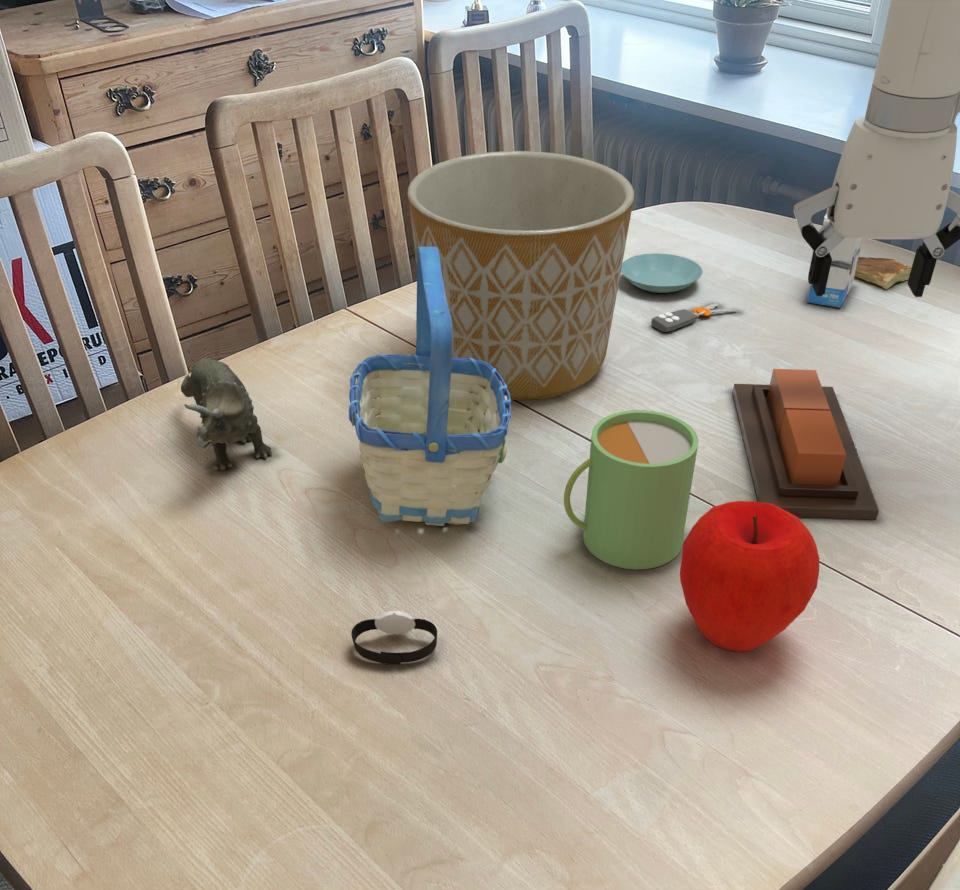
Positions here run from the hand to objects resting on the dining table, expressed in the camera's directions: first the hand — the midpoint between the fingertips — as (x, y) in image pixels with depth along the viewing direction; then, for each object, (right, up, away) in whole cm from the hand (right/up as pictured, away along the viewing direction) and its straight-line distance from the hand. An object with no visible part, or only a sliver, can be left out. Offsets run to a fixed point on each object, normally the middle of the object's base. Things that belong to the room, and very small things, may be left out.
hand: (865, 290), depth 106 cm
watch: (-47, -36, -11) cm, 60 cm away
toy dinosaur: (-68, -13, +15) cm, 70 cm away
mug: (-25, -25, +2) cm, 35 cm away
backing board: (-3, -14, +14) cm, 20 cm away
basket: (-44, -19, +8) cm, 49 cm away
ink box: (+11, +14, +44) cm, 48 cm away
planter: (-34, 0, +29) cm, 45 cm away
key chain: (-10, +9, +39) cm, 41 cm away
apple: (-16, -35, -9) cm, 39 cm away
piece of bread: (+18, +18, +48) cm, 55 cm away
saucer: (-13, +16, +47) cm, 51 cm away
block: (-3, -16, +10) cm, 19 cm away
